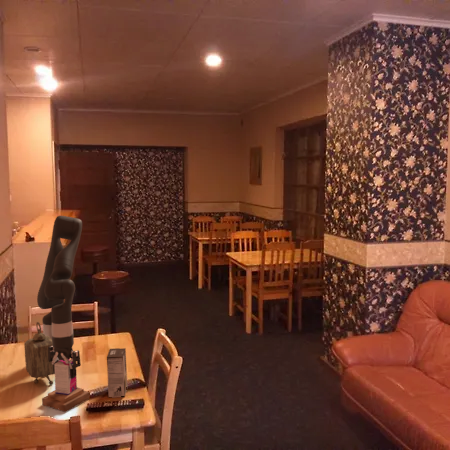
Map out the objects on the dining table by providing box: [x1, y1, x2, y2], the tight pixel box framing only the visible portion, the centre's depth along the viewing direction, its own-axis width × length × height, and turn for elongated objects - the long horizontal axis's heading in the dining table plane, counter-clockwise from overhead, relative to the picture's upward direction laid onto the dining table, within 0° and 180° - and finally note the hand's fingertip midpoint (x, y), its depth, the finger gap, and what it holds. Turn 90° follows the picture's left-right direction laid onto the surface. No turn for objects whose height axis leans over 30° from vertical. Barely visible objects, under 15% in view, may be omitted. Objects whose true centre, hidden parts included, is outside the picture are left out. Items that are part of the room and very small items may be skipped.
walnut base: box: [41, 386, 91, 413], centre depth 188 cm, size 12×12×4 cm
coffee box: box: [106, 347, 128, 398], centre depth 194 cm, size 9×6×16 cm
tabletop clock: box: [23, 321, 55, 386], centre depth 205 cm, size 14×9×25 cm, turn 32°
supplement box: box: [54, 358, 78, 395], centre depth 187 cm, size 6×6×12 cm
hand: (64, 375), depth 187 cm, fingers open, 8 cm apart
